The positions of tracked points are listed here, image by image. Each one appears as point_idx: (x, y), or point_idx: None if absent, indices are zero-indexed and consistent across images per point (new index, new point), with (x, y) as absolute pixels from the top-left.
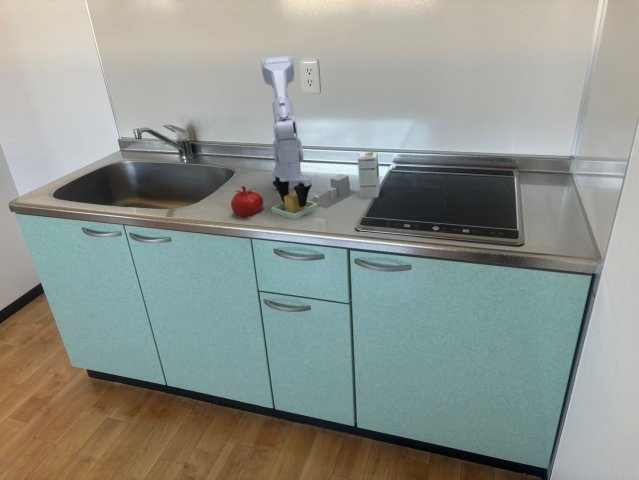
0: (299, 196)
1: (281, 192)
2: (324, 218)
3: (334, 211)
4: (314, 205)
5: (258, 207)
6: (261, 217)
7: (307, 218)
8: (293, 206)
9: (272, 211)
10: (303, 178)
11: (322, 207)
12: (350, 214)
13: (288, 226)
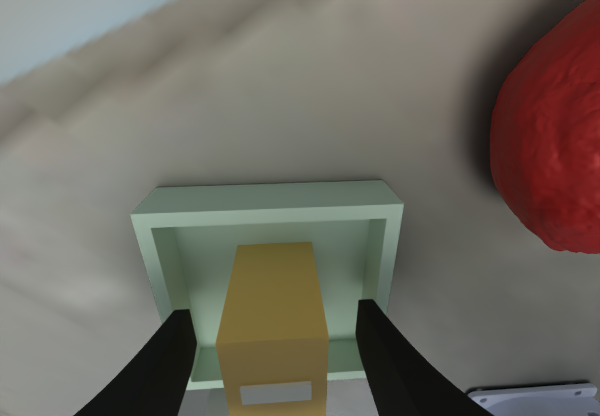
0: (103, 398)
1: (391, 369)
2: (88, 314)
3: None
4: None
5: (506, 139)
6: (434, 117)
7: None
8: (229, 291)
9: (385, 193)
10: None
11: None
12: (42, 394)
13: (142, 125)
